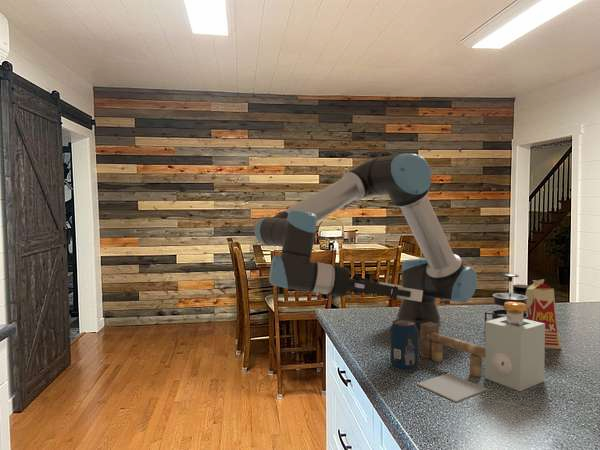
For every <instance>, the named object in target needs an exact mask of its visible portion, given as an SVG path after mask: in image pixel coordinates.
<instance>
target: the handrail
mask: <svg viewBox="0 0 600 450" xmlns="http://www.w3.org/2000/svg"><path fill="white" fill-rule="evenodd" d="M439 328H440V325H439V324H436V323H433V322H427V323H423V324H421V328H420V338H419V339H420V345H419V346H420V347H419V348H420V349H419V351H420V357H424V358H426V359H428V360H429V359H431V361H434V362H436V363H439V362H443V353H444V352H443V350H444V349H443V345H444V346H446V347H450V348H453V349H456V350H459V351H462V352H463V353H464V352H465V353H467V354H469V375H471V376H473V377H476V378H477V377H481V376H483V375H482V373H483V359H485V346H480V345H477V344H474V343H471V342H468V341H467V342H466V341H464V340H461V339H457V338H454V337H452V336H451V337H450V336H447V335H443V334H441V333H439V332H440V329H439Z"/></svg>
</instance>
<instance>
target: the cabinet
mask: <svg viewBox="0 0 600 450" xmlns="http://www.w3.org/2000/svg"><path fill="white" fill-rule="evenodd" d="M484 338H485V341H484V348H485V358H484V379H487V380H489V381H492V382H494V383H497V384H500V385H503V386H504V387H507V388H510V389H512V390H515V391H518V392H522V391H525V390H526V389H528V388H532V387H534V386H537V385H539V384H540V383H543V382H545V355H546V354H545V353H546V352H545V349H546V348H545V323H540V322H536V321H532V320H527V319H523V326H520V327H518V326H514V325H510V324H507V315H506V316H505V315H504V317H501V318H497V319H493V320H492V319H489V320H487V321H486V322H485V321H484Z"/></svg>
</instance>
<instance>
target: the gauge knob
mask: <svg viewBox="0 0 600 450" xmlns="http://www.w3.org/2000/svg"><path fill="white" fill-rule="evenodd" d="M503 310H507V314H506V316H507V324H510V325H514V326H518V327H520V326H523V311H526V304H524V303H520V302H505V303H504V306H503Z"/></svg>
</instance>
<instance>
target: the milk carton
mask: <svg viewBox="0 0 600 450" xmlns="http://www.w3.org/2000/svg"><path fill="white" fill-rule="evenodd" d="M532 282H533V283H532V284H530V285H529V286H530V287H529V288H527V290H526V295H525V296H527V297H528V300H526V301H525V303H524V304H526V311H523V312H524V313H526V314H528V320H532V321H536V322H540V323H545V349H557V350H558V349H560V350H562V349H563V348H562V344H561V338H560V333H559V327H558V319H557V311H556V301H555V288H553V287H551V286H549V285H548V284H545V283H544V282H545V279H543V278H541V279H539V280H533V279H532Z"/></svg>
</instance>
